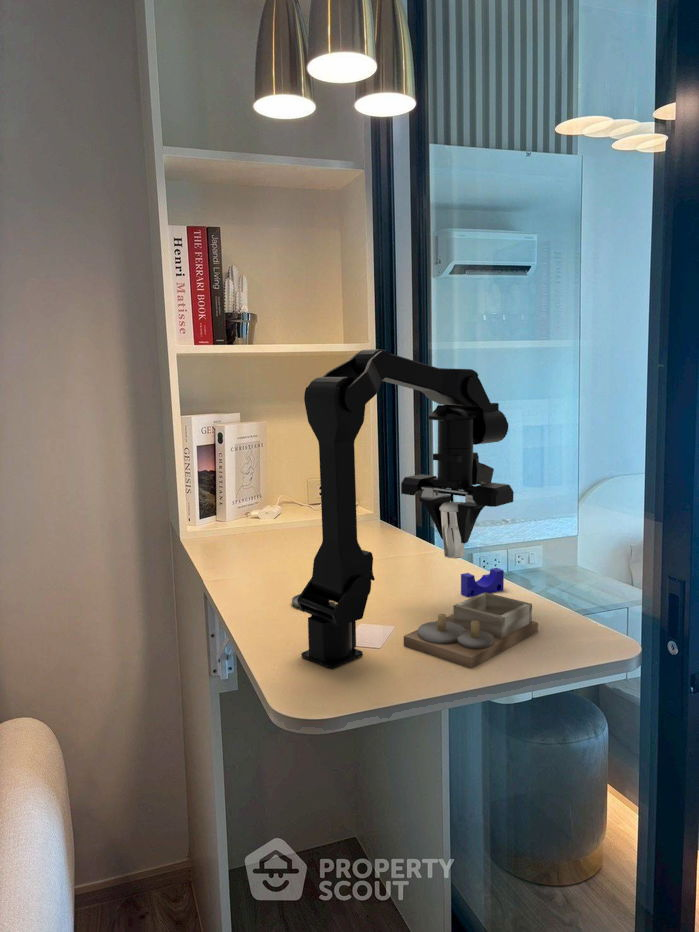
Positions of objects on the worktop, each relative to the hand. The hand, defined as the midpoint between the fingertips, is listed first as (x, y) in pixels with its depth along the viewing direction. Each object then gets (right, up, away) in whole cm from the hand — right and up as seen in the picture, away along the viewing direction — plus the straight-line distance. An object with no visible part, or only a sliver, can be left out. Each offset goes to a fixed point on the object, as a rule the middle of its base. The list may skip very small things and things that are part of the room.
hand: (454, 541), depth 117 cm
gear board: (+1, -14, -10) cm, 17 cm away
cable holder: (+7, -11, +13) cm, 18 cm away
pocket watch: (-23, -12, +7) cm, 27 cm away
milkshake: (0, -3, 0) cm, 3 cm away
